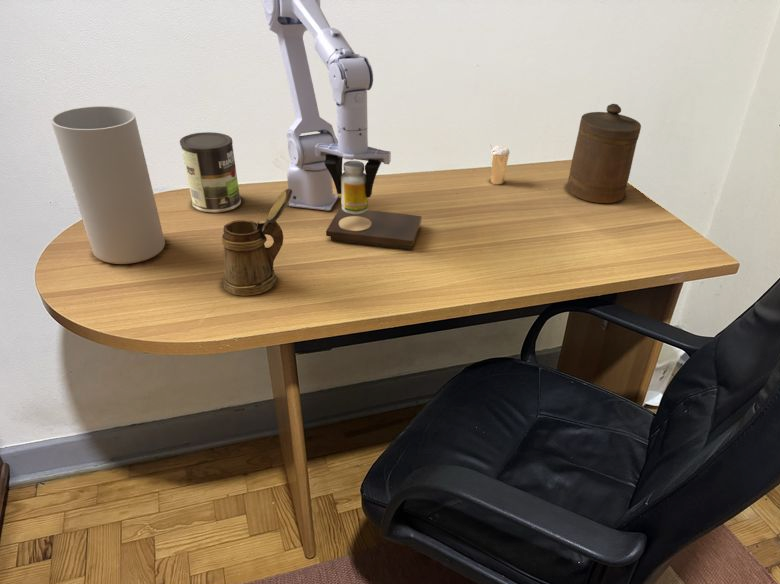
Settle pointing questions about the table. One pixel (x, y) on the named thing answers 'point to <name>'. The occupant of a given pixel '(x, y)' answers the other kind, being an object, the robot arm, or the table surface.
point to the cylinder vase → (110, 182)
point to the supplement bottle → (354, 188)
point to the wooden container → (603, 156)
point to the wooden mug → (253, 251)
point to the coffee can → (211, 171)
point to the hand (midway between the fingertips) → (354, 193)
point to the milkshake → (498, 164)
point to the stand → (375, 228)
